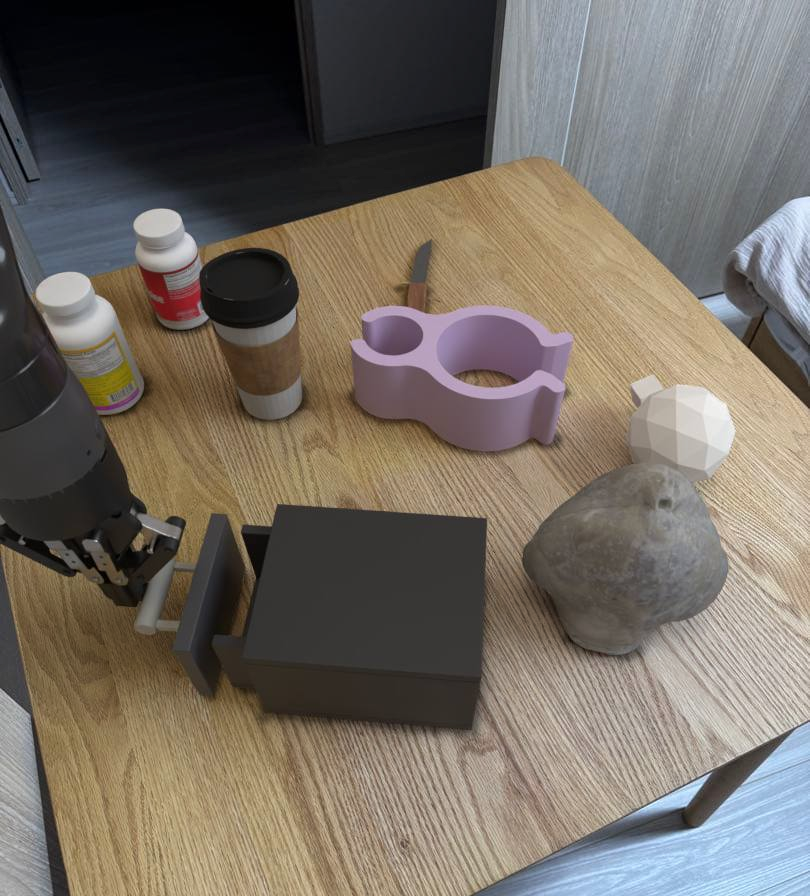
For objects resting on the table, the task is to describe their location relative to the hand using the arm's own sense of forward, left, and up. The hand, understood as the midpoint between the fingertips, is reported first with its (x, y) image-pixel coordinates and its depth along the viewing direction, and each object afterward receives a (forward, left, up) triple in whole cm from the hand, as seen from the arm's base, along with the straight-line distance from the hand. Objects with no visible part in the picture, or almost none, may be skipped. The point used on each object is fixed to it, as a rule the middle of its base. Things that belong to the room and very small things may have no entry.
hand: (131, 596), depth 57 cm
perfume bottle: (+46, -15, -5) cm, 49 cm away
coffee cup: (+22, +15, -5) cm, 27 cm away
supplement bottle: (+10, +26, -5) cm, 28 cm away
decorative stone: (+30, -22, -5) cm, 38 cm away
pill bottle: (+22, +32, -5) cm, 39 cm away
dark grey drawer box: (+13, -13, -5) cm, 19 cm away
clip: (+36, +3, -5) cm, 37 cm away
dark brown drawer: (+8, -8, -4) cm, 12 cm away
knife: (+44, +19, -5) cm, 48 cm away
